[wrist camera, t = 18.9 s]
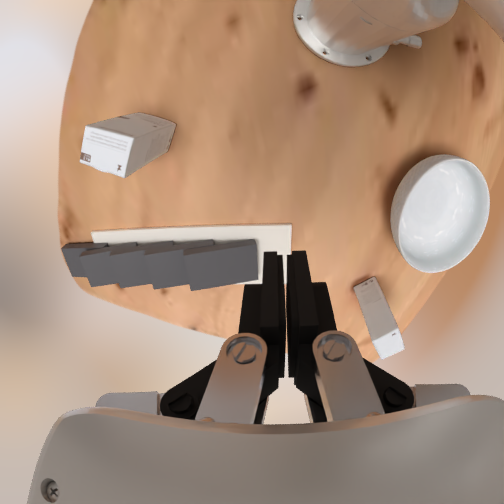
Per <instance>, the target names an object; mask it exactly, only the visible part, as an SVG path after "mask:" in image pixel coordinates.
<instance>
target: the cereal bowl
mask: <svg viewBox="0 0 504 504" xmlns="http://www.w3.org/2000/svg"><path fill="white" fill-rule="evenodd" d="M489 207H490V198H489V190H488V186H487V183H486V181H485V178H484V176H483V175H482V173H481V171H480V170H479V169H478V168H477V167H476V166H475V165H474V164H473V163H471V162H470V161H468V160H466V159H464V158H461V157H458V156H454V155H447V154H444V155H443V154H441V155H435V156H430V157H428V158H426V159H424V160H422V161H420V162H419V163H417V164H416V165H415V166H413V168H411V169H410V170H409V171H408V172H407V174H406V175H405V176H404V178H403V179H402V181H401V183H400V184H399V186H398V188H397V190H396V192H395V195H394V198H393V202H392V207H391V219H390V222H391V229H392V234H393V238H394V241H395V243H396V246H397V248H398V250H399V252H400V253H401V255H402V256H403V258H404V259H405V260H406V261H407V263H408V264H409V265H411V266H412V267H413V268H415V269H417V270H419V271H422V272H427V273H436V272H441V271H445V270H447V269H450V268H452V267H453V266H455V265H457V264H458V263H460V262H461V261H462V260H463V259H464V258H466V257H467V256H468V255H469V253H470V252H471V251H472V250H473V249H474V247H475V246H476V244H477V243H478V241H479V240H480V238H481V236H482V234H483V232H484V229H485V226H486V224H487V220H488V215H489Z"/></svg>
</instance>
